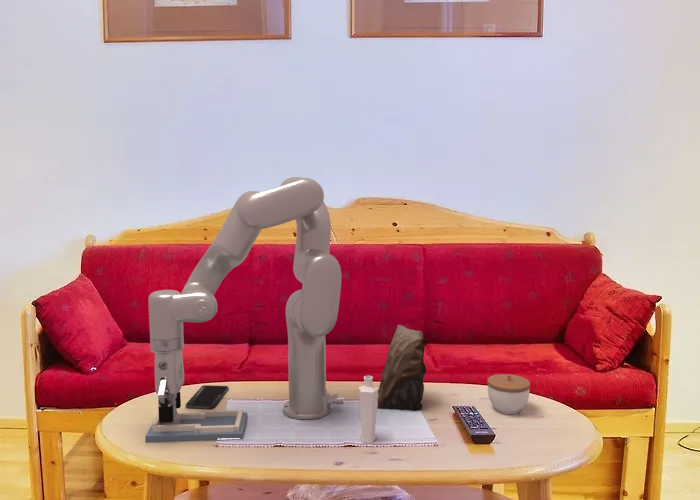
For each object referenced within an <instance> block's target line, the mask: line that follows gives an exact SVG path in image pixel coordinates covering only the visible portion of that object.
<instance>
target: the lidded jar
mask: <svg viewBox="0 0 700 500" xmlns="http://www.w3.org/2000/svg"><path fill="white" fill-rule="evenodd" d="M486 383H487V395H488V399H489V401H490V404H491V405H492V406H493V408H495V410H496V411H497V412H499V413H501V414H505V415H516V414H518V413H520V411H521V410H523V409H524V408H525V406H526V405H527V403H528V401H529V397H530V389H531V381H530V380H528V378H525V377H523V376H520V375H515V374H509V373H508V374H507V373H500V374H493V375H490V376H489V377H488V378H487V382H486Z"/></svg>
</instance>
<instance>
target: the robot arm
mask: <svg viewBox="0 0 700 500" xmlns="http://www.w3.org/2000/svg"><path fill="white" fill-rule="evenodd" d="M324 200H325V193H324V190H323V187H322V186H321V184H320V183H319V182H318V181H316V180H315V179H312V178H308V177H302V176H301V177H300V176H292V177H288V178H286V179H285V180H283V181H282V182H281V184H280V185H279V186H277V187H273V188H270V189H266V190H262V191H257V190H249V191H246V192H244V193H242V194H241V195H240V196H239V197H238V198H237V200H236V201H235V203H234V205H233V207H232V208H231V210H230V212H229V213H228V215H227V217H226V219H225V221H224V223H223V224H222V226H221V228H220V230H219V231H218V233H217V235H216V237H214V240H213V241H212V243H211V245H210V246H209V247H208V248H207V250H206V251H205V253H204V254H203V256H202V257H201V259H200V260H199V261H198V263H197V264H196V266H195V268H194V269H193V271H192V272H191V274H190V276H189V278H188V280H187V281H186V283H185V285H184V287H183V289H182V291H181V292H180V291H178V290H174V289H162V290H161V289H160V290H156V291H152V292H151V293H150V294H149V296H148V316H149V317H148V319H149V321H148V322H149V342H150V343H149V344H150V352H151V353H153V354H154V389H155V390H154V391H155V393H156V394H157V399H158V403H157V405H158V413H159V422H160V423H172V422H173V421H174V418H173V405H171V404H172V394H174V395H177V397H176V399H175V401H176V409H180V408H181V407H182V405H181V403H182V402H181V398H182V397H181V392H180V391H181V388H182V387H183V385H184V383H185V370H184V357H183V350H184V349H185V340H184V338H185V337H184V323H204V322H208V321H210V320H212V319H213V318H214V317H215V316H216V314H217V312H218V302H217V299H216V297H215V294H216V291H218V288H219V287H220V285H221V283H222V282H223V280H224V279H225V277H226V276H227V275H228V274H229V273H230V272H231V271H232V270H233V269H234V268H236V267H238V266H240V265H241V264H242V263H243V262H244V261H245V260H246V258H247V256H248V255H249V252H250V251H251V249H252V247H253V245H254V244H255V243H256V240H257V238H258V236H259V235H260V233H261V231H263V230H265V229H270V228H273V227H277V226H280V225H283V224H287V223H289V222H292V221H294V220H295V223H296V241H295V248H294V249H295V250H294V258H293V266H292V271H293V274H294V276H295V278H296V280H297V281H299V283H301V284H302V286H301V287H302V288H301V289H297V290H296V291H294V292H293V293H291V295H290V296H289V298H288V299H287V301H286V305H285V321H286V328H287V340H288V342H287V345H288V346H287V347H288V348H287V349H288V352H287V353H288V354H287V355H288V360H287V362H288V401H286V402H285V403H283V405H282V411H283V413H284V414H285V415H286V416H288V417H289V418H292V419H297V420H314V419H320V418H323V417H326V416H328V415H329V414H331V412H332V410H333V405H344V401H345V399H344V396H339V394H338V393H335V394H330V393H328V388H327V385H326V383H327V382H326V381H327V376H326V375H327V373H326V372H327V371H326V370H327V368H326V367H327V366H326V365H327V364H326V360H327V358H326V355H327V354H326V352H327V350H326V349H327V348H326V347H327V346H326V345H327V343H326V341H327V340H326V335H327V334H329V333H330V332H331V331H332V330H333V329H334V327H335V325H336V322H337V320H338V314H339V306H340V299H341V298H340V297H341V289H342V288H341V287H342V269H341V265H340V264H339V263H340V262H339V261H338V259H337V258H336V257H335V256H333V254H330V250H331V248H330V247H331V233H332V232H331V231H332V229H331V228H332V225H331V224H332V222H331V216H330V212H329V209H328V208H327V205H326V204H325V201H324ZM166 391H168V393H165V392H166ZM169 391H170V392H169ZM166 396H169V399H167V398H165V397H166Z"/></svg>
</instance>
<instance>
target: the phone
mask: <svg viewBox="0 0 700 500" xmlns="http://www.w3.org/2000/svg"><path fill="white" fill-rule="evenodd" d="M228 392H229V386H228V385H206V384H205V385H202V386H201V387H199V389H198V390H196V392H195V393H194V394H193V396H192V397H191V398H190V399H189V400H188V401H187V402H186V403H185V409H186V410H205V411H209V410H215V408H216V407H218V404H219V403H220V402H221V401H222V399H223V398H224V397H225V395H226V394H227V393H228Z"/></svg>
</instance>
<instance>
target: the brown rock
mask: <svg viewBox="0 0 700 500" xmlns="http://www.w3.org/2000/svg"><path fill="white" fill-rule="evenodd" d="M425 340H426V339H425V337H424V333H423V331H422V330H415V329H412V328H411V329H410V328H407V327H406V326H405V325H402V324H397V326H396V329H395V332H394V334H393V336H392V340H391V342H390V345H389V348H388V352H387V356H386V360H385V365H384V368H383V370H382V373H381V377H380V378H381V379H380V383H379V388H378V399H377V410H389V411H390V410H391V411H393V410H394V411H395V410H396V411H410V412H418V411H422V410H423V404H422V401H423V399H424V393H425V384H424V378H425V375H426V374H427V368H426V365H425V363H424V362H425V361H424V356H425V348H426V347H425Z"/></svg>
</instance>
